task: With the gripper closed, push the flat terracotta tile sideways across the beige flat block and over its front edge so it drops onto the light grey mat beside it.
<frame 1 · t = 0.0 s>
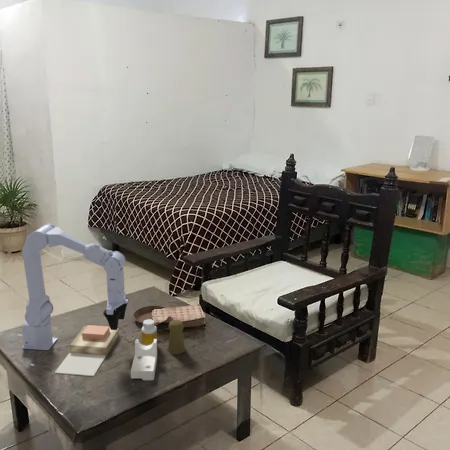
hand: (117, 324, 170), 10 cm above the table, tool pointing down, fingers open, 7 cm apart
bracket: (144, 369, 163), on the table
tile: (96, 332, 177), point 4 cm above the table, touching beige flat block
saucer: (152, 320, 195), on the table
mat: (81, 364, 164), on the table
supplement bottle: (149, 346, 176), on the table
beige flat block: (95, 343, 177), on the table
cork: (176, 350, 174), on the table
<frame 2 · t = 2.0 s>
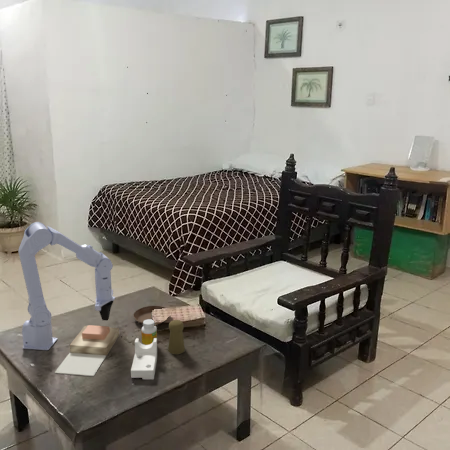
hand: (105, 319, 186), 4 cm above the table, tool pointing down, fingers closed
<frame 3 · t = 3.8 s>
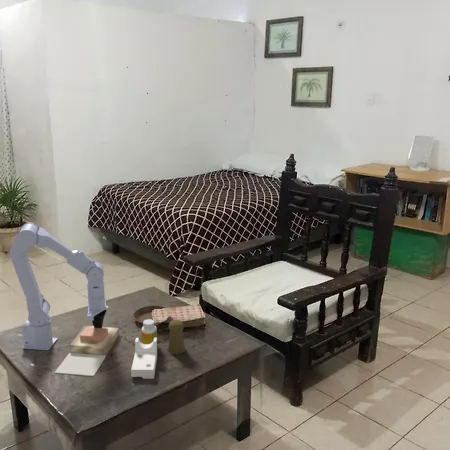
hand: (98, 329, 179), 4 cm above the table, tool pointing down, fingers closed
tile: (94, 334, 175), point 4 cm above the table, touching beige flat block, gripper
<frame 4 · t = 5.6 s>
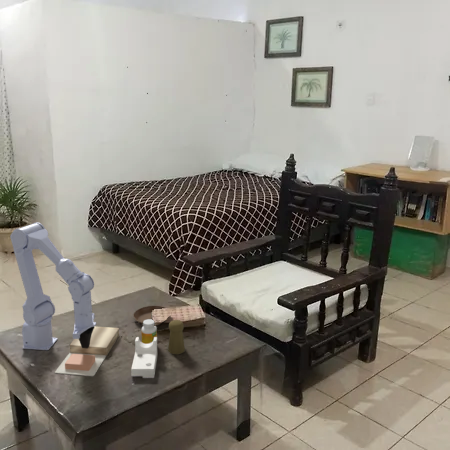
hand: (85, 347, 167), 4 cm above the table, tool pointing down, fingers closed
tile: (80, 362, 163), point 1 cm above the table, tilted 180°, touching mat
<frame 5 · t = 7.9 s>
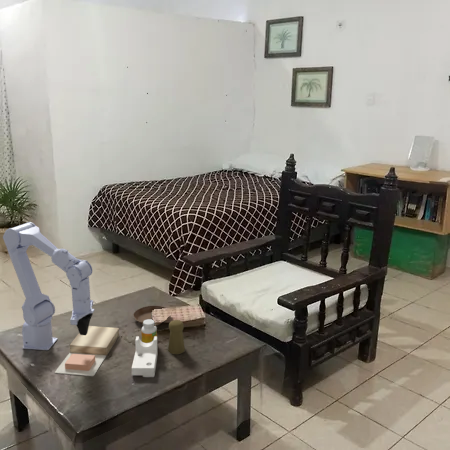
hand: (83, 334, 166), 9 cm above the table, tool pointing down, fingers closed
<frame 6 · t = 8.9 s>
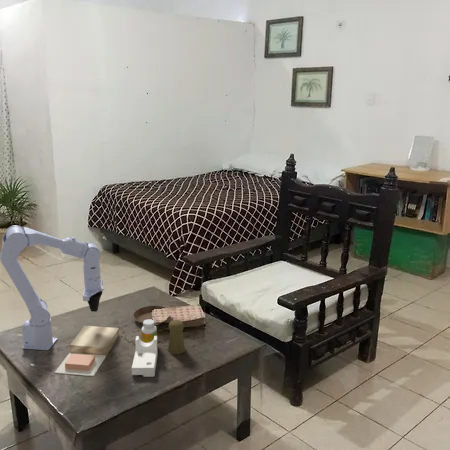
hand: (94, 310, 181), 9 cm above the table, tool pointing down, fingers closed
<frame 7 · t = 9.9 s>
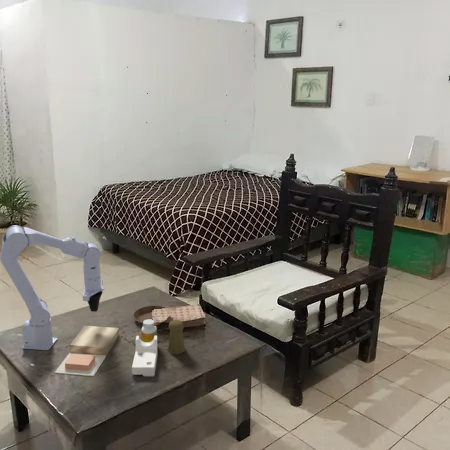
hand: (94, 310, 181), 9 cm above the table, tool pointing down, fingers closed
at the end: tile inside the target area (0.6 cm from its centre), point 1.3 cm above the table; tile point 1.3 cm above the table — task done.
